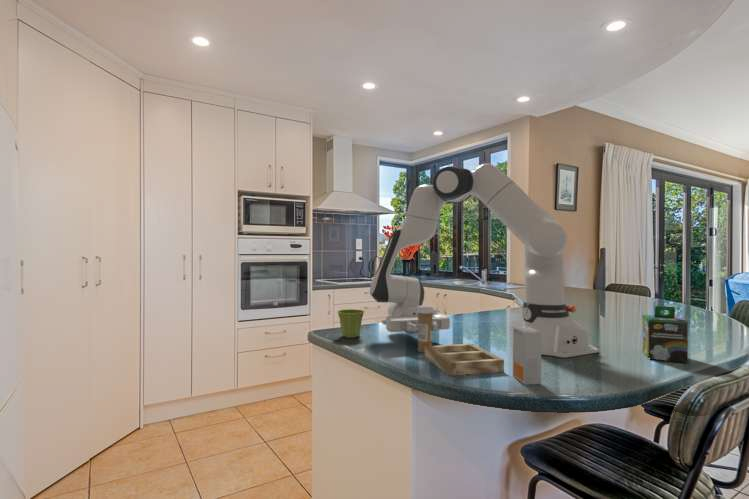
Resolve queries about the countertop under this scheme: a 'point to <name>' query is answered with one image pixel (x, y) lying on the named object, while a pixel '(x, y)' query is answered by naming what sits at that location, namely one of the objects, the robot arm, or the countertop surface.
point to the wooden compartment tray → (464, 359)
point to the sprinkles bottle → (425, 327)
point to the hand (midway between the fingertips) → (426, 328)
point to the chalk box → (665, 336)
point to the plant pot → (350, 322)
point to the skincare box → (527, 355)
